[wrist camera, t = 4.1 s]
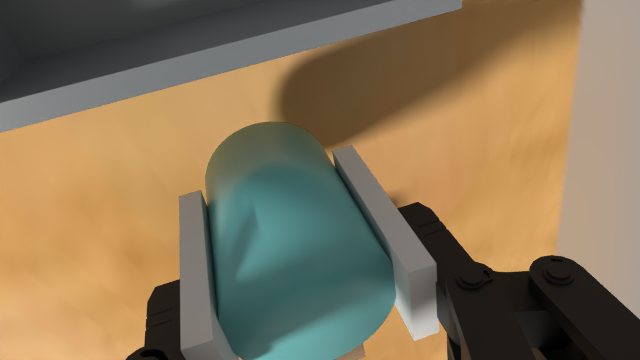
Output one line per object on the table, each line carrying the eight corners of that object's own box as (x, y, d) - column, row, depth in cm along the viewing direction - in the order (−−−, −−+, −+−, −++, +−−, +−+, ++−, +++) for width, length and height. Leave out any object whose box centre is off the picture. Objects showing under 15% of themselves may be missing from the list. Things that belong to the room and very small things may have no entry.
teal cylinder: (230, 104, 16) (260, 216, 10) (349, 142, 18) (428, 253, 12) (188, 216, 18) (193, 363, 12) (300, 239, 20) (349, 374, 14)
